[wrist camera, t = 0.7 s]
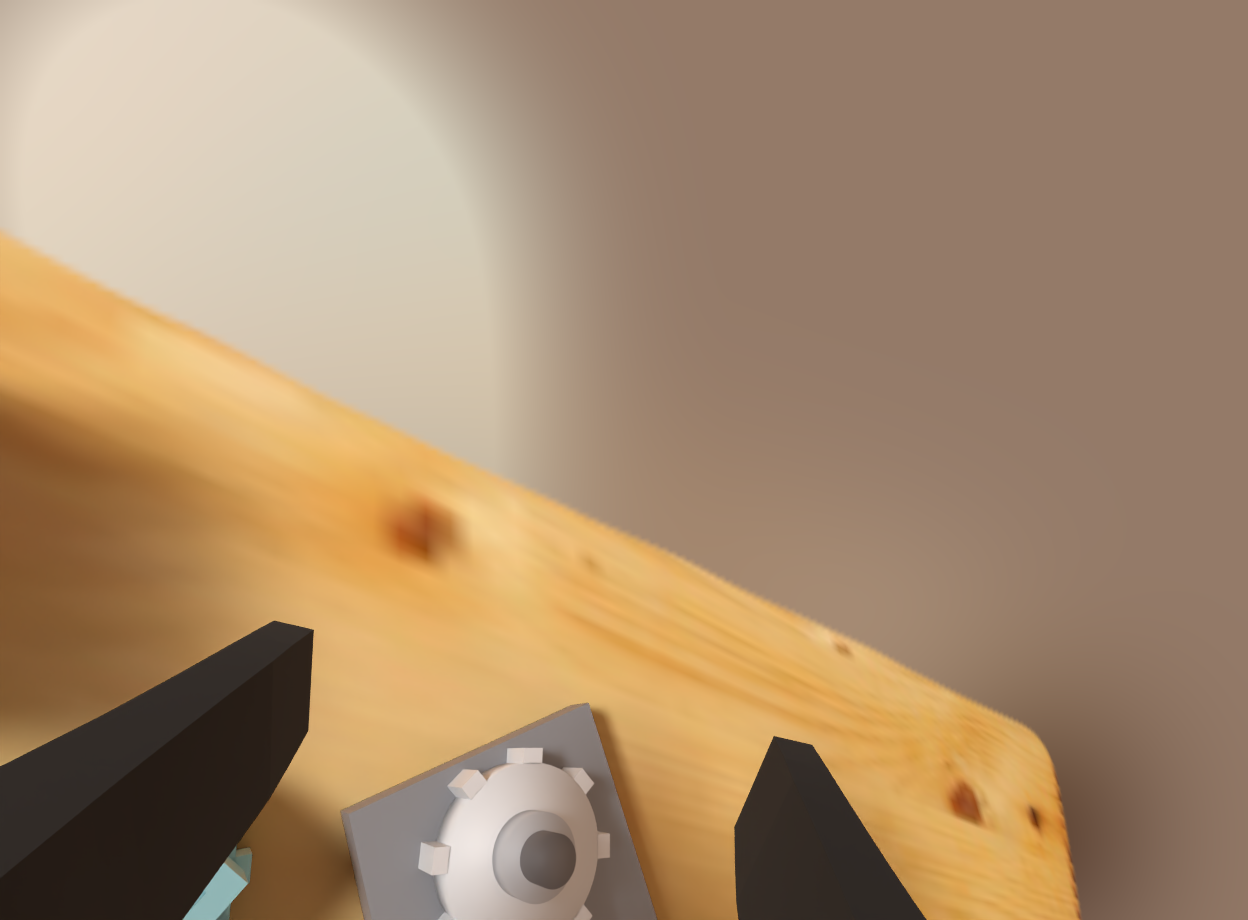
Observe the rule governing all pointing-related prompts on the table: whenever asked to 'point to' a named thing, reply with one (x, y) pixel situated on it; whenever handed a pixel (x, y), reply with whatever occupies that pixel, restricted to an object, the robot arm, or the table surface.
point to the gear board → (426, 799)
